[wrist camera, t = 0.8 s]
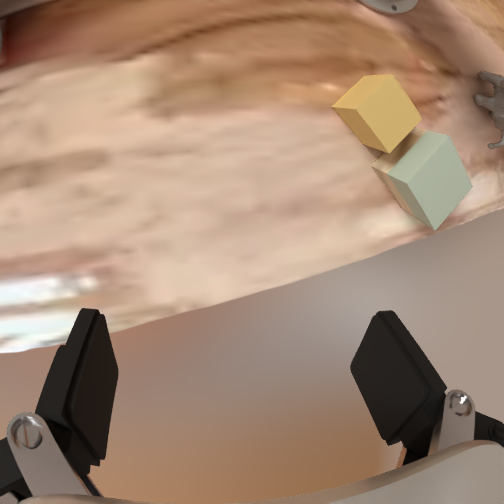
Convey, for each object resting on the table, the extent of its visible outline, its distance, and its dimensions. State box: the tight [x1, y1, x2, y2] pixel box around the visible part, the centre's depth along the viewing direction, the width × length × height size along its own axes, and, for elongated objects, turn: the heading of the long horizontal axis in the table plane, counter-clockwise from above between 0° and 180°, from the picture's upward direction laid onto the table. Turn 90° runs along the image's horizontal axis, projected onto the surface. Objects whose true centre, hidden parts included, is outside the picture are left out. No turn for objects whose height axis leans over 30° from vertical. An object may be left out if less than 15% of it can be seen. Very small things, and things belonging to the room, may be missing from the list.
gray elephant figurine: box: [474, 71, 504, 149], centre depth 28 cm, size 9×12×8 cm
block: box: [332, 74, 422, 153], centre depth 28 cm, size 6×6×6 cm
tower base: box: [371, 127, 427, 216], centre depth 33 cm, size 8×8×4 cm
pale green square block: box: [387, 130, 473, 231], centre depth 30 cm, size 8×8×4 cm
